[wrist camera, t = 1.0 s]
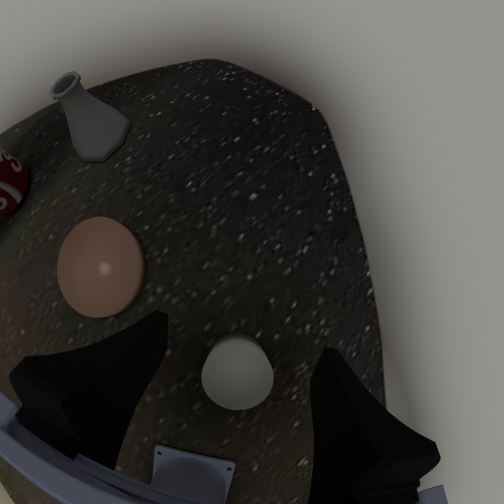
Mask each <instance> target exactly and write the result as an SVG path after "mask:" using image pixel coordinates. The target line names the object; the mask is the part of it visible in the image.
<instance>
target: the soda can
mask: <svg viewBox="0 0 504 504" xmlns="http://www.w3.org/2000/svg"><path fill="white" fill-rule="evenodd" d="M28 182H29V172H28V169H27V167H26V166H25V165H23V164H22V163H21V162H19V161H18V160H17V159H15V158H14V157H13V156H11V155H10V154H9V153H7V152H6V151H5V150H3V149H2V148H1V147H0V212H1V213H3V214H9V213H11V212H13V211H14V210H15V209H16V208H17V207H18V206H19V204H20V203H21V201H22V199H23V197H24V195H25V193H26V190H27V187H28Z"/></svg>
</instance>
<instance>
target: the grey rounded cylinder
mask: <svg viewBox="0 0 504 504" xmlns="http://www.w3.org/2000/svg"><path fill="white" fill-rule="evenodd" d="M273 380H274V376H273V370H272V367H271V365H270V362H269V361H268V359H267V357H266V355H265V353H264V351H263V349H262V347H261V345H260V344H259V342H258V341H257V340H256V339H254V338H253V337H251V336H250V335H247V334H244V333H230V334H226V335H224V336H222V337H221V338H219V339H218V340H217V341H216V342H215V344H214V345H213V347H212V349H211V351H210V353H209V355H208V357H207V360H206V362H205V364H204V366H203V370H202V385H203V388H204V390H205V392H206V394H207V395H208V396H209V398H210V399H211V400H212V401H214V402H215V403H216V404H218V405H220V406H222V407H224V408H227V409H231V410H245V409H249V408H252V407H254V406H256V405H258V404H259V403H261V402H262V401H263V400H264V399H265V398H266V397H267V396H268V394H269V393H270V391H271V389H272V386H273Z"/></svg>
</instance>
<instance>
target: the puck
mask: <svg viewBox="0 0 504 504" xmlns="http://www.w3.org/2000/svg"><path fill="white" fill-rule="evenodd" d="M146 275H147V261H146V256H145V252H144V249H143V247H142V244H141V243H140V241H139V239H138V238H137V237H136V235H135V234H134V233H133V232H132V231H130V230H129V229H128V228H126V227H125V226H123V225H122V224H120V223H119V222H117V221H115V220H113V219H111V218H107V217H94V218H90V219H87V220H85V221H83V222H81V223H80V224H78V225H77V226H76V227H75V228H73V229H72V231H71V232H70V233H69V234H68V236H67V237H66V239H65V240H64V242H63V244H62V247H61V249H60V253H59V256H58V263H57V276H58V282H59V286H60V289H61V292H62V294H63V296H64V298H65V299H66V301H67V302H68V303H69V304H70V306H71V307H72V308H73V309H75V310H76V311H77V312H79V313H81V314H83V315H85V316H88V317H94V318H97V317H108V316H114V315H118V314H120V313H122V312H124V311H126V310H127V309H129V308H130V307H131V306H132V305H133V304H134V303H135V302H136V300H137V299H138V298H139V296H140V294H141V292H142V290H143V287H144V284H145V281H146Z"/></svg>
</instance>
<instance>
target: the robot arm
mask: <svg viewBox="0 0 504 504" xmlns="http://www.w3.org/2000/svg"><path fill="white" fill-rule="evenodd" d="M167 343H168V314H166V313H163V312H159V311H154V312H153V313H151V314H149V315H148V316H146V317H144V318H143V319H141V320H139V321H138V322H136V323H134V324H133V325H131V326H129V327H127V328H126V329H124V330H122V331H120V332H118V333H116V334H114V335H112V336H110V337H108V338H106V339H104V340H102V341H99V342H97V343H94V344H91V345H89V346H86V347H82V348H78V349H75V350H71V351H67V352H62V353H57V354H51V355H40V356H26V357H25V358H24V359H23V360H22V361H21V362H20V363H19V364H18V365H17V366H16V367H15V368H14V369H13V370H12V371H11V372H10V373H9V379H10V382H11V385H12V387H13V388H14V390H15V392H16V394H17V395H18V397H19V399H20V401H21V402H22V404H23V406H22V407H21V408H20V409H19V408H18V406H17V405H16V404H15V403H14V402H12V401H11V400H10V399H9V398H8V397H6V396H5V395H4V394H3V393H2V392H1V391H0V455H1V456H2V457H3V458H4V459H5V460H6V461H7V462H8V463H10V464H11V465H12V466H13V467H14V468H15V469H17V470H18V471H19V472H20V473H21V474H23V475H24V476H25V477H26V478H28V479H29V480H30V481H31V482H33V483H34V484H35V485H37V486H38V487H39V488H41V489H42V490H44V491H45V492H46V493H48V494H49V495H51V496H52V497H54V498H55V499H57V500H58V501H60V502H61V503H63V504H225V502H226V498H227V495H228V491H229V488H230V484H231V480H232V477H233V473H234V469H235V462H234V461H231V460H225V459H219V458H214V457H209V456H204V455H199V454H195V453H190V452H186V451H182V450H178V449H174V448H171V447H167V446H164V445H160V444H158V445H156V447H155V453H154V464H153V477H152V481H151V483H150V485H148V484H145V483H143V482H140V481H137V480H135V479H132V478H130V477H127V476H125V475H123V474H120V473H118V472H116V471H114V469H115V466H116V462H117V459H118V455H119V452H120V449H121V446H122V443H123V440H124V437H125V434H126V431H127V429H128V426H129V423H130V421H131V418H132V416H133V414H134V411H135V409H136V406H137V404H138V402H139V400H140V398H141V397H142V395H143V393H144V392H145V390H146V388H147V386H148V385H149V383H150V381H151V380H152V378H153V376H154V375H155V373H156V371H157V369H158V368H159V366H160V364H161V362H162V359H163V357H164V355H165V352H166V350H167ZM310 399H311V409H312V419H313V429H314V461H313V473H312V481H311V489H310V495H309V501H308V504H448V502H447V498H446V494H445V491H444V487H443V485H439V486H436V487H433V488H429V489H426V490H423V491H421V492H419V493H418V492H417V488H418V487H419V486H420V481H419V479H420V478H421V477H422V476H424V475H425V474H427V473H428V472H429V471H431V470H432V469H433V468H434V467H435V466H436V465H437V464H438V463H439V461H440V459H441V457H440V454H439V451H438V448H437V446H436V443H435V442H434V441H432V440H430V439H428V438H426V437H424V436H422V435H420V434H418V433H417V432H415V431H414V430H412V429H410V428H409V427H407V426H406V425H405V424H403V423H402V422H400V421H399V420H398V419H397V418H395V417H394V416H393V415H392V414H391V413H389V412H388V411H387V410H386V409H385V408H384V407H383V406H382V405H381V404H380V403H379V402H378V401H377V400H376V399H375V398H374V397H373V396H372V395H371V394H370V392H369V391H368V390H367V389H366V388H365V386H364V385H363V384H362V383H361V381H360V380H359V379H358V377H357V376H356V375H355V373H354V372H353V371H352V369H351V368H350V366H349V365H348V364H347V362H346V361H345V359H344V358H343V356H342V355H341V354H340V352H339V351H338V350H337V349H332V348H324V350H323V353H322V355H321V357H320V359H319V362H318V364H317V366H316V368H315V370H314V372H313V374H312V376H311V386H310ZM158 451H159V452H161V453H159V452H158ZM228 467H230V468H231V469H228ZM130 496H131V497H133V498H136V499H138V500H141V501H142V502H138V501H135V500H132V499H131V497H130Z"/></svg>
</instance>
